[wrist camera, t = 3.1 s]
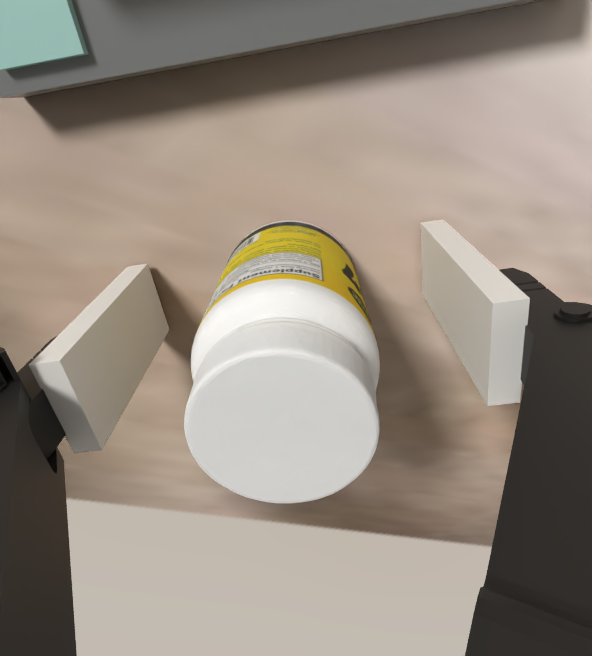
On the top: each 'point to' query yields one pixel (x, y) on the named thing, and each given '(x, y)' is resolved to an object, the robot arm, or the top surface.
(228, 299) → the supplement bottle
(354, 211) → the top surface
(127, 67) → the dock
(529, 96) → the top surface
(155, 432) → the top surface
